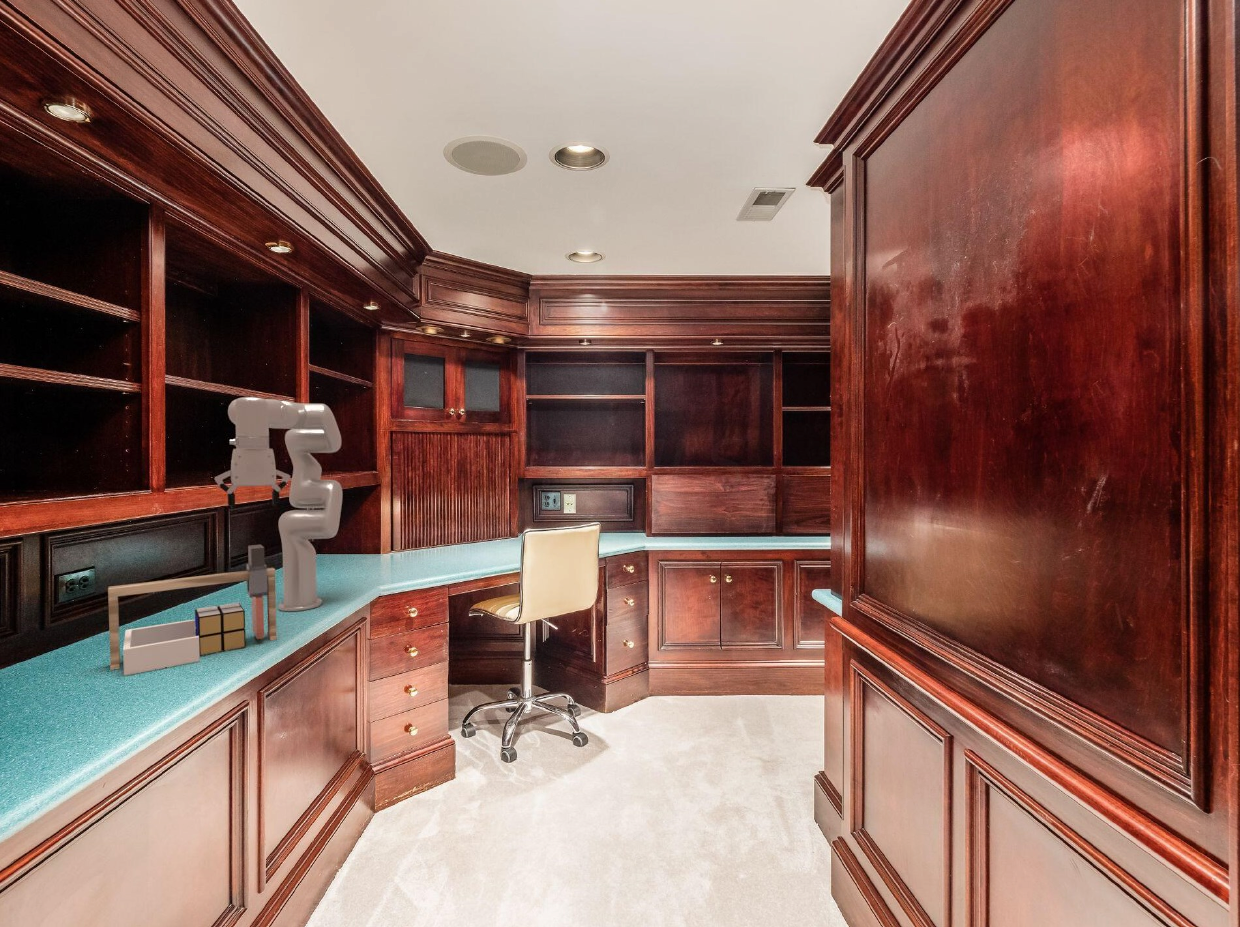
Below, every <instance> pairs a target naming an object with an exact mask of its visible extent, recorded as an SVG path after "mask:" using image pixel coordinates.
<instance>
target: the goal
mask: <svg viewBox="0 0 1240 927" xmlns="http://www.w3.org/2000/svg"><path fill="white" fill-rule="evenodd" d="M195 629H196V627H195V618H194V619H189V620H182V621H175V622H169V623H163V624H156V625H155V624H154V625H149V626H142V627H137V628H131V629H129V628H128V629H125V631H124V632H125V633H124V640H123V648H122V654H123V655H122V656H123V659H122V660H123V676H124V677H125V676H128V675H135V674H140V673H145V672H150V671H155V669H156V670H160V669H165V667H167V668H171V667H175V666H176V667H177V666H181V665H186V664H190V663H191V664H192V663H197V662H200V661H201V659H200V658H201V656H200V654H199V636H196V635H195Z"/></svg>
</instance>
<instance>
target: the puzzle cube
mask: <svg viewBox="0 0 1240 927" xmlns="http://www.w3.org/2000/svg"><path fill="white" fill-rule="evenodd" d="M245 612H246V611H245V609H244V607H243V606H242V605H241V603H240V602H233V603H226V604H219V605H218V606H217V605H214V606H206V607H200V608H196V609H194V619H195V636H199V654H200V657H202V656H207V655H206V654H208V655H212V654H217V653H216V652H218V653H222V652H227V651H226V650H229V651H233V649H234V650H238V649H244V648H245V647H247V645H246V642H247V641H246V629H245V628H246V615H245V614H246V613H245Z"/></svg>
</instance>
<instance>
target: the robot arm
mask: <svg viewBox="0 0 1240 927" xmlns="http://www.w3.org/2000/svg"><path fill="white" fill-rule="evenodd" d="M227 415H228V418H229V420H230V421H231V423H233V424H234V425H235V438H233V439H229V445H233V446H234V447H236V448H233V450H232V454H231V461H230V462H231V463H230V470H228V471H225V472H223V473H221V474H219V475H217V476H215V477H214V480H215V483H216V484H217V485H218V486H219V488H220V489H222V490H223V491H224V492H226V493H227V506H228V507H229V506H230V508H231V510H232V509H233V510H235V509H236V495H235V490H236V489H237V488H238V487H260V486H261V487H262V486H269V487H271V488H272V489H273V490H272V491H271V495H272V496H271V501H272V503H271V504H272V506H274V507H278V504H280V492H281V491H282V489H283V488H284V487H286V486H287V483H288V482H289V480H290V478H291V483H290V488H289V495H288V498H289V503H290V505H291V506H292V507H294V508H298V509H293V510H289V511H285V512H284V513H282V514H281V516H280V517H279V519H278V531H279V535H280V539H281V549H282V576H283V577H282V578H283V579H282V580H283V582H282V583H283V588H282V589H283V601H282V602H281V603H279V604H278V610H279V611H282V612H298V611H299V612H300V611H305V610H313V609H315V608H318V607H320V606H321V605H322V604H323V600H322V599H321V598H319V597H318V596H317V595H318V594H317V552H316V549H315V547H314V546H313V544H312V543H311V542H310V540H318V539H319V540H322V539H325V540H326V539H331V538H334V537H335V536H337V535H338V531H339V527H340V521H341V520H340V519H341V512H342V505H343V488H342V485H341V483H340V482H339V481H337V480H335V479H322V478H321V477H322V471H323V470H322V466H321V464H320V462H318V460H317V459H316V458H315V457H314V456H313V455H312V454H319V453H322V454H323V453H324V454H325V453H326V454H332V453H336V452H338V451H339V450H340V448H341V447H342V435H341V433H340V430H339V426H338V423H337V421H336V418H335V416H334V413H333V412H332V410H331V408H330V407H329V406H328V405H326V404H325V403H301V402H295V401H294V402H293V401H287V400H279V399H275V398H273V399H272V398H261V397H250V396H249V397H247V396H246V397H239V398H236V399H234V400H232V401H231V402H230V404H228V409H227ZM269 429H283V430H286V429H287V431H286V432H285V434H284V441H285V442H284V443H285V445H286V449H287V452H288V455H289V457H290V459H291V463H292V466H293V470H292V477H291V475H290V474H289V473H285V472H283V471H280V470H278V469H276V460H275V459H276V458H275V453H274V449H273V448H270V431H269ZM277 476H279V477H282V480H281V482H279V484H277V483H276V481H277ZM228 477H230V481H231V482H230V483H231V484H230V485H229V486H228V485H226V484H225V483H224V481H223V480H224V479H226V478H228Z"/></svg>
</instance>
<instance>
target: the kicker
mask: <svg viewBox="0 0 1240 927" xmlns="http://www.w3.org/2000/svg"><path fill="white" fill-rule="evenodd" d="M247 549H248V553H247V554H248V563H246V568H245V569H246V571H248V570H249V580H246V594H247V595H248V597H249V599H250V598H251V625H252V628H251V629H252V630H251V631H252V633H253V634H254V636H255V638H256V640H259V639H260V640H261V639H265V620H264V618H265V617H264V596H266V597H267V568H268V566H267V565H266V563H265V547H264V546H263V545H262V544H253V545H248V546H247Z"/></svg>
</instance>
